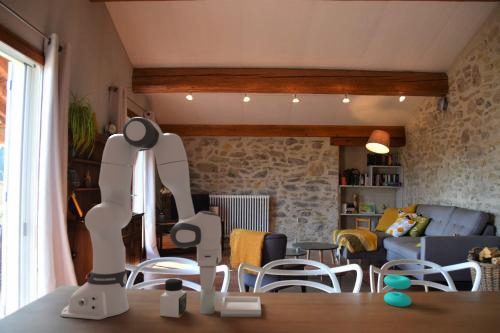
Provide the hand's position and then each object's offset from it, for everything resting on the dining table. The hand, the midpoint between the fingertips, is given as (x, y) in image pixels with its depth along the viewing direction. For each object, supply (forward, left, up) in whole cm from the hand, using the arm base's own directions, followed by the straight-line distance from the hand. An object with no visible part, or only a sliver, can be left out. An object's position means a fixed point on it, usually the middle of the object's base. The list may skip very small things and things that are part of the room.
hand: (209, 294), depth 135 cm
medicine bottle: (-13, -2, -6) cm, 14 cm away
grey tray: (+11, +2, -6) cm, 13 cm away
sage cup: (-1, 0, -6) cm, 6 cm away
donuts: (+72, +10, -6) cm, 73 cm away
